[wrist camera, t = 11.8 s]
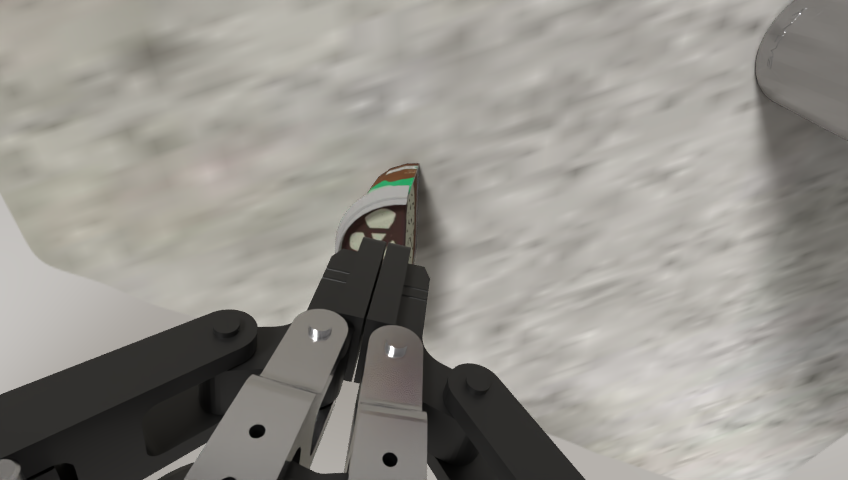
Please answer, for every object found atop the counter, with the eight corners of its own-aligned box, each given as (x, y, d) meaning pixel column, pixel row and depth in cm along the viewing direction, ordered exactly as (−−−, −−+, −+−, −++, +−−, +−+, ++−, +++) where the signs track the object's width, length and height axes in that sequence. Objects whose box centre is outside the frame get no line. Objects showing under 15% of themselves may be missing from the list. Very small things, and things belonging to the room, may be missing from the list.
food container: (352, 143, 44) (323, 191, 35) (419, 147, 43) (406, 197, 35) (358, 255, 50) (334, 318, 42) (416, 260, 50) (404, 324, 41)
